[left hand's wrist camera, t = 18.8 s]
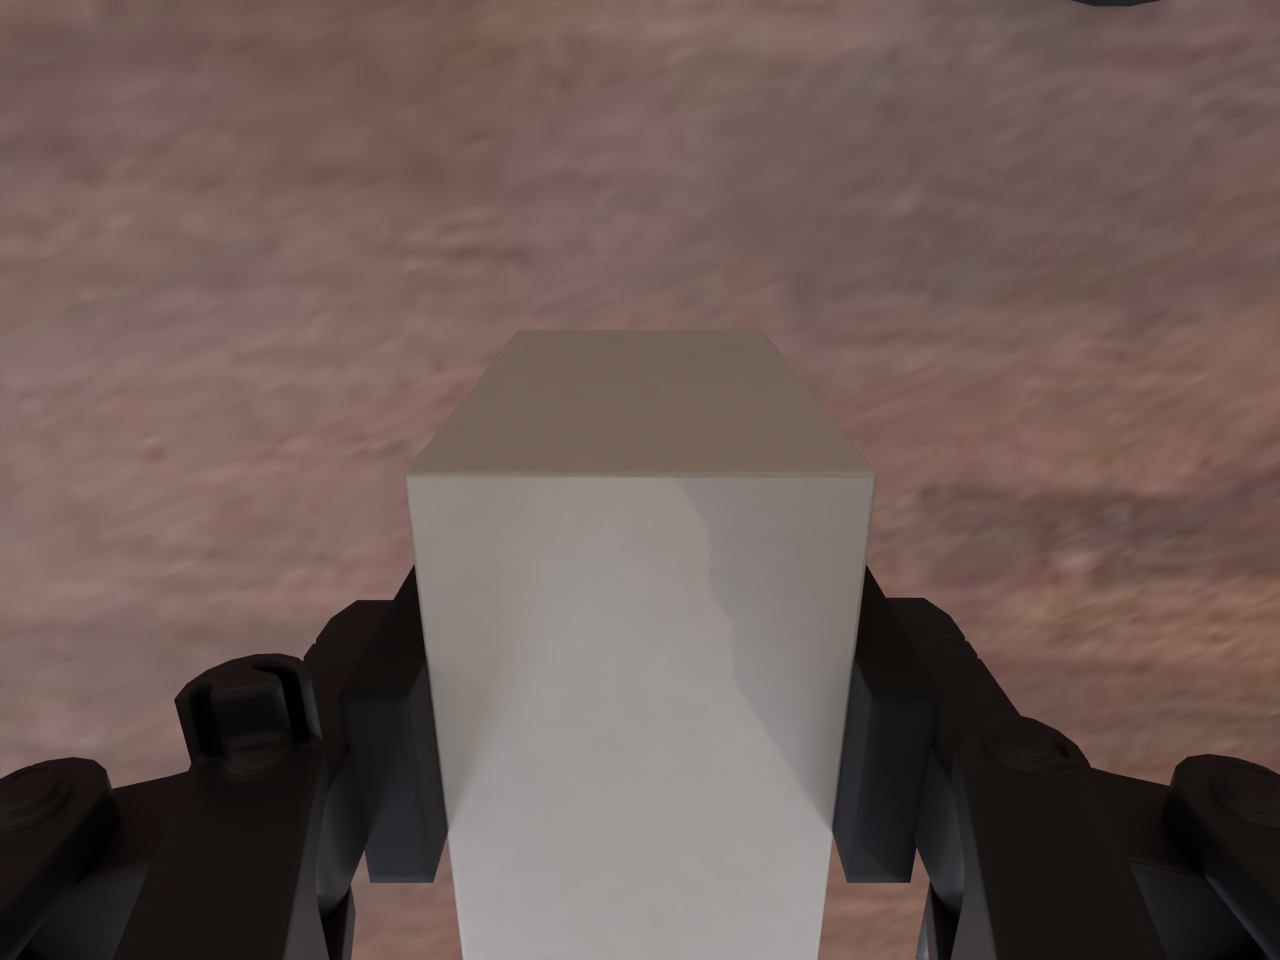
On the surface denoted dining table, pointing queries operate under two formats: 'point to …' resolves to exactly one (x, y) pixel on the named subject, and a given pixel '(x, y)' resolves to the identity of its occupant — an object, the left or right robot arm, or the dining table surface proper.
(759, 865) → the brick
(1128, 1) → the figurine
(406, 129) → the dining table surface
